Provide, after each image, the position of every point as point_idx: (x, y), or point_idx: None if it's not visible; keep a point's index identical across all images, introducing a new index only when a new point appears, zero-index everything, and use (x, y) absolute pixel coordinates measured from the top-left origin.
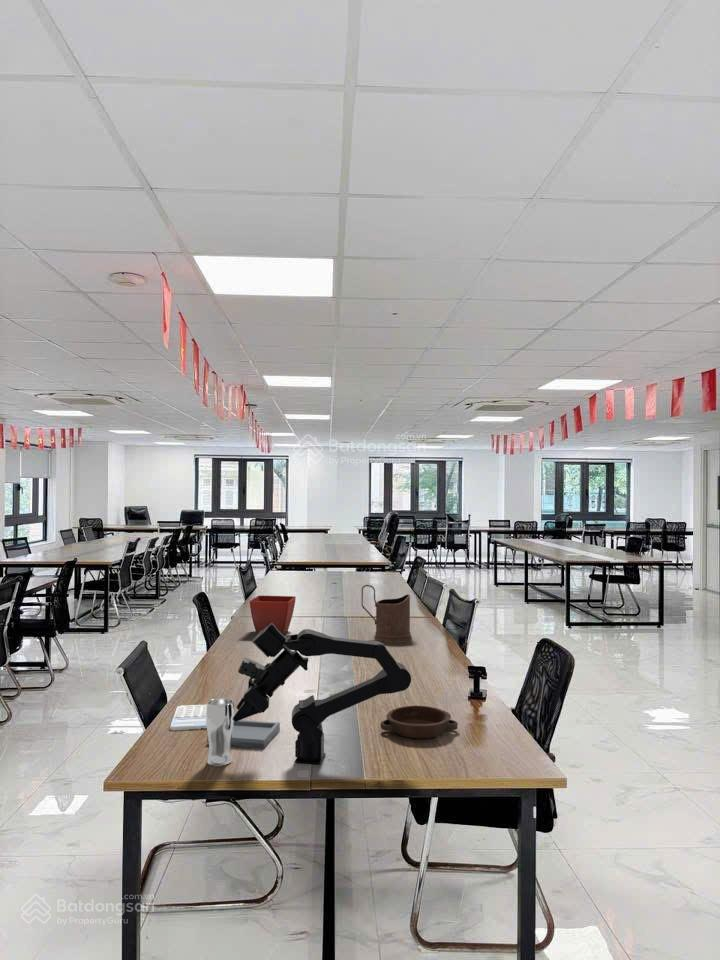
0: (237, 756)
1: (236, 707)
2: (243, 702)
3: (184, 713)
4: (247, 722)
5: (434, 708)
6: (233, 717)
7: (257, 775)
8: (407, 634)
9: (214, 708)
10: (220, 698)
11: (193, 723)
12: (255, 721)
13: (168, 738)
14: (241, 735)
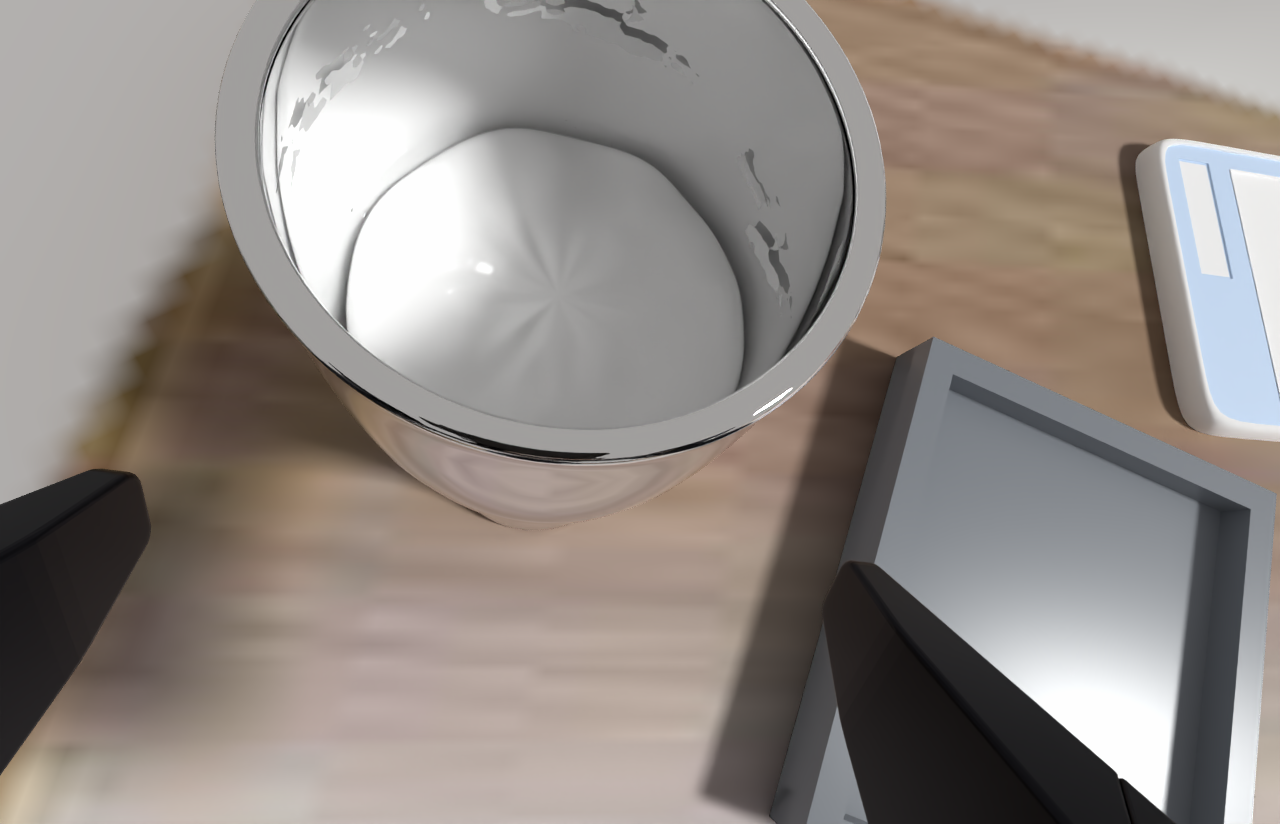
0: (624, 575)
1: (843, 564)
2: (904, 727)
3: None
4: (1230, 670)
5: None
6: (60, 484)
7: (133, 756)
8: None
9: (301, 30)
10: (863, 171)
11: (1226, 273)
12: (1249, 747)
13: (1006, 132)
14: (986, 614)
